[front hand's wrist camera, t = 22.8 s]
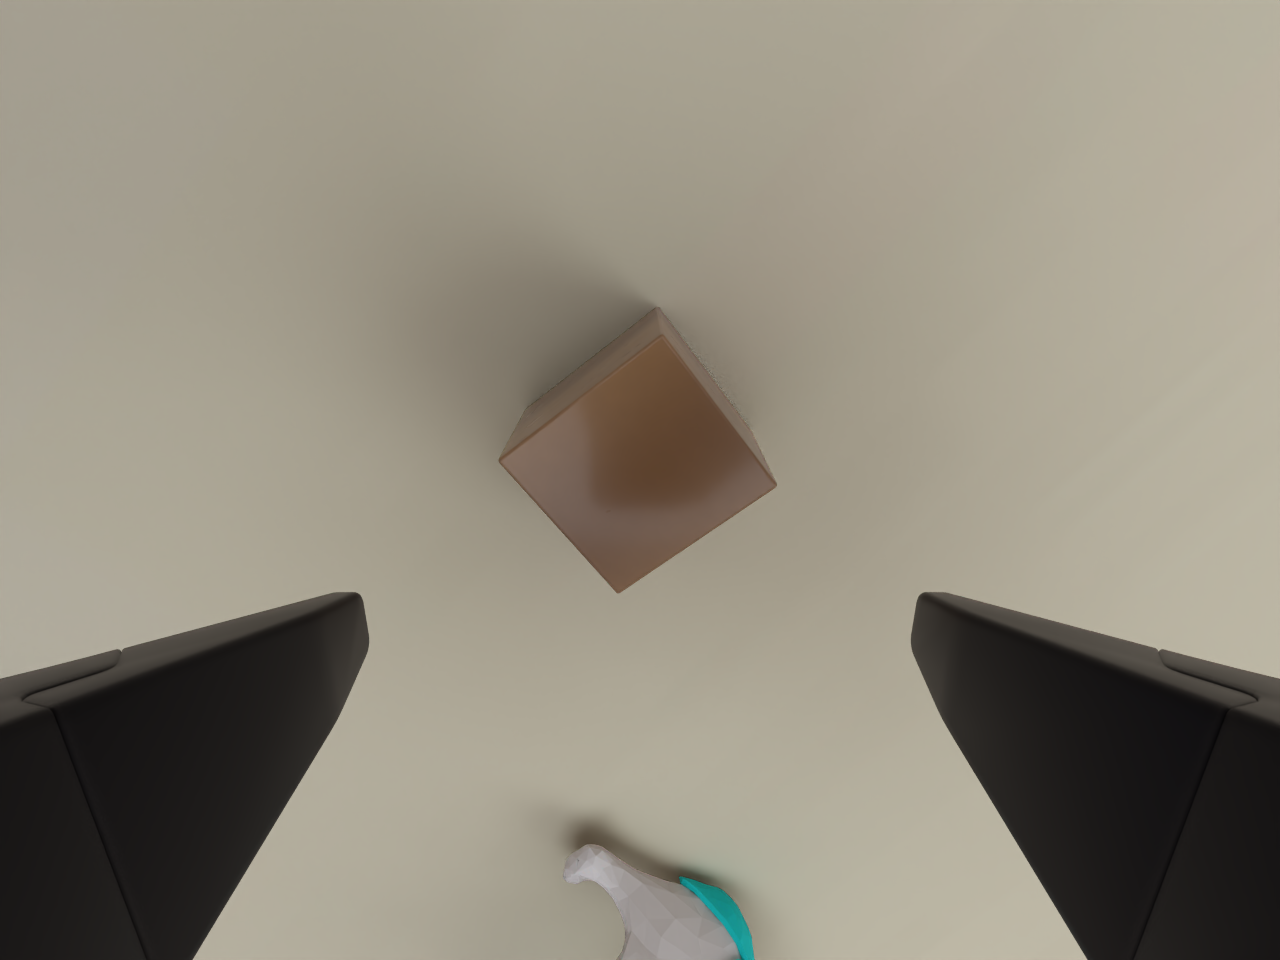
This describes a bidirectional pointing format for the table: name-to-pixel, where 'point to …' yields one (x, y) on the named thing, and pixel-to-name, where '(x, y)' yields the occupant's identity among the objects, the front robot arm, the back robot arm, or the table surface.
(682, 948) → the anatomical model
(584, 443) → the block
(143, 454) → the table surface
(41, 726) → the front robot arm
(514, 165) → the table surface
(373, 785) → the table surface
